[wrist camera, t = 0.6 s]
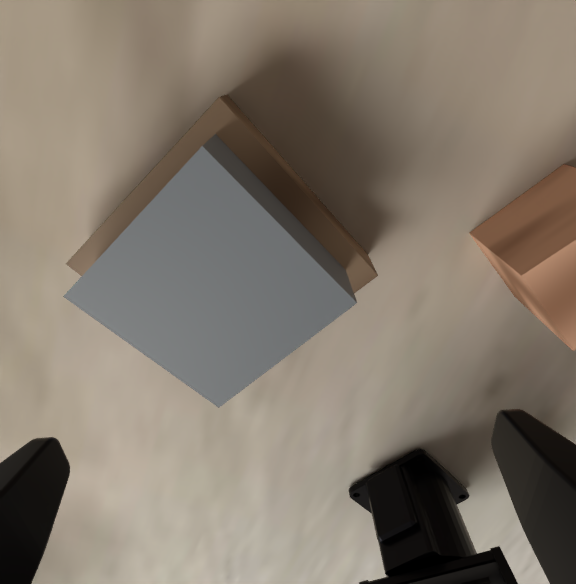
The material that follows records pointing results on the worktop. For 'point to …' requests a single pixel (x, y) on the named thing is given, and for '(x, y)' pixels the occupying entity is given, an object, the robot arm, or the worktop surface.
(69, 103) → the worktop surface
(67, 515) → the worktop surface
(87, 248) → the tower base block
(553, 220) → the terracotta cube
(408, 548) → the robot arm
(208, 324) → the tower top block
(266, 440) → the worktop surface
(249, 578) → the worktop surface
